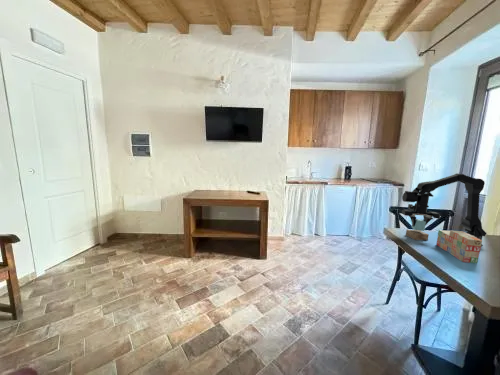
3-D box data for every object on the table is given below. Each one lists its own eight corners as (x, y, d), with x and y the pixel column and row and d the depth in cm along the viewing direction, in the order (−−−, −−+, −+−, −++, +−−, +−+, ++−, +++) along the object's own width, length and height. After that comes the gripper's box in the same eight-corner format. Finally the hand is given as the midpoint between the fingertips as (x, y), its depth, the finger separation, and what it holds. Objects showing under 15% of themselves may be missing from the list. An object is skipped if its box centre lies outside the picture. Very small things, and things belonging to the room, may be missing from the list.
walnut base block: (417, 235, 143) (418, 229, 142) (427, 240, 135) (428, 234, 134) (405, 235, 142) (406, 229, 142) (414, 240, 135) (415, 234, 134)
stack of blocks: (435, 244, 128) (439, 224, 126) (448, 246, 127) (451, 225, 125) (462, 262, 107) (467, 238, 105) (477, 263, 106) (482, 240, 104)
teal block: (420, 228, 140) (421, 219, 139) (424, 230, 135) (425, 221, 134) (411, 227, 141) (412, 218, 140) (415, 230, 136) (416, 220, 135)
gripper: (432, 201, 140) (428, 224, 143) (399, 199, 145) (396, 221, 147) (442, 205, 130) (438, 230, 132) (407, 202, 134) (403, 226, 137)
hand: (418, 226), depth 137 cm, fingers closed on teal block, 5 cm apart
